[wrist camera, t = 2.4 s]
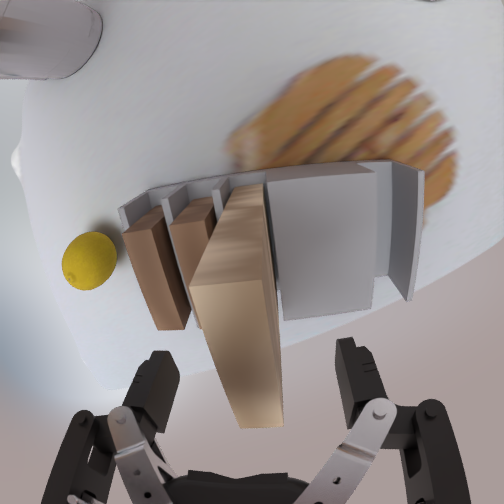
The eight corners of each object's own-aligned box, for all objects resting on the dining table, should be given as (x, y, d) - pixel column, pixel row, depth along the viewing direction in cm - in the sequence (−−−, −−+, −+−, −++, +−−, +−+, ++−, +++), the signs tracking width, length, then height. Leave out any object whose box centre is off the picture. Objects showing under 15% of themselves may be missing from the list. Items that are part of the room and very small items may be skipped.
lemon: (114, 214, 27) (72, 244, 19) (135, 258, 29) (102, 298, 22) (81, 230, 28) (40, 261, 20) (102, 270, 30) (68, 308, 23)
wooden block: (251, 284, 28) (240, 428, 13) (234, 187, 24) (188, 286, 9) (276, 282, 28) (283, 426, 13) (262, 183, 23) (261, 279, 9)
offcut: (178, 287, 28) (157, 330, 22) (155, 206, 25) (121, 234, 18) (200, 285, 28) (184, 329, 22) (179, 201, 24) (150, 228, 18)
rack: (177, 292, 30) (160, 328, 25) (148, 189, 25) (117, 208, 20) (387, 267, 28) (411, 300, 22) (390, 159, 23) (424, 170, 17)
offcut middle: (213, 284, 28) (200, 329, 22) (193, 199, 24) (168, 225, 18) (237, 281, 28) (229, 327, 21) (220, 194, 24) (204, 220, 18)
